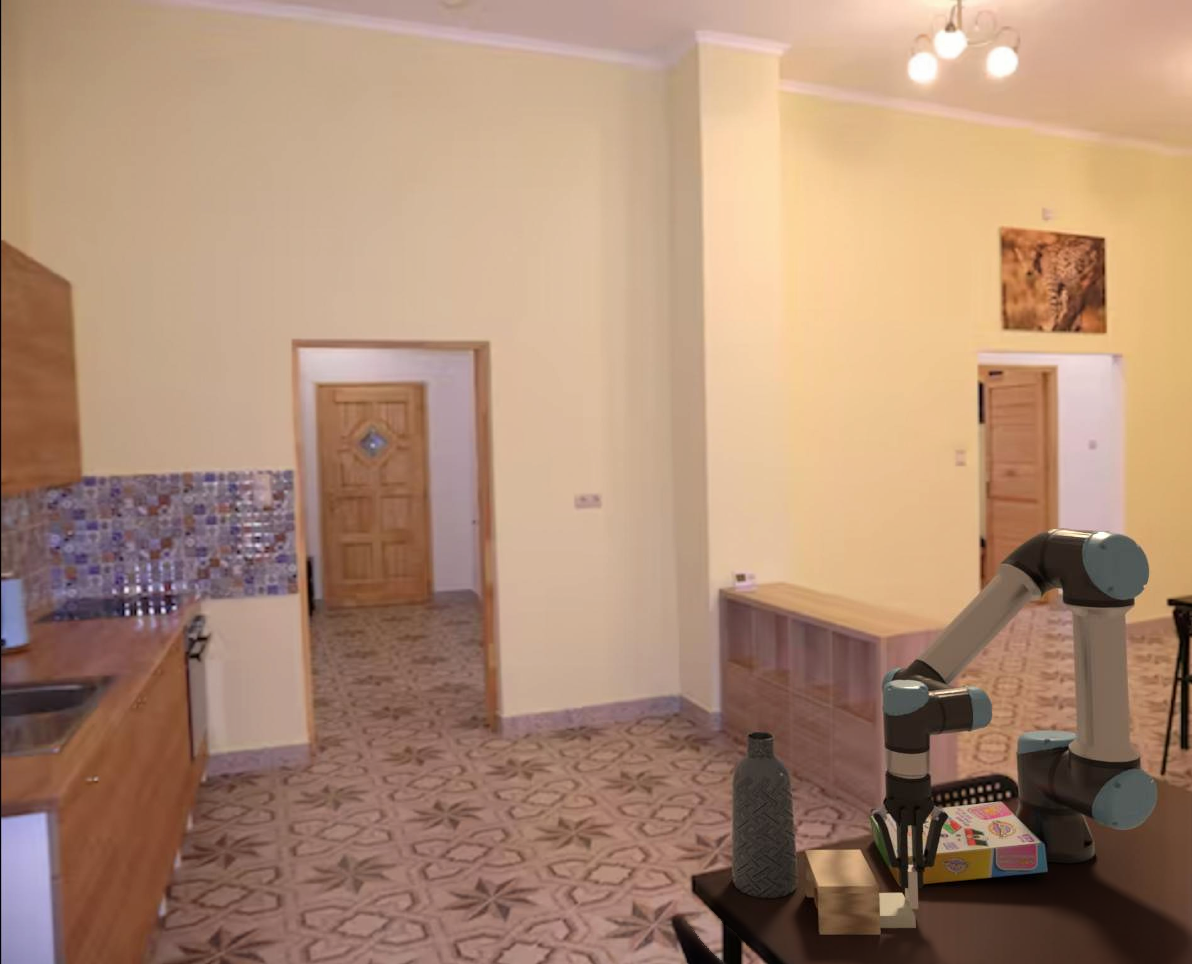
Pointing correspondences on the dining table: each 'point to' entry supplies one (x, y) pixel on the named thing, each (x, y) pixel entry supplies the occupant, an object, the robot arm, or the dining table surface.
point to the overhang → (843, 892)
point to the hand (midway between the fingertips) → (911, 905)
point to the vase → (763, 822)
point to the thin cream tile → (895, 911)
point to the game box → (974, 845)
